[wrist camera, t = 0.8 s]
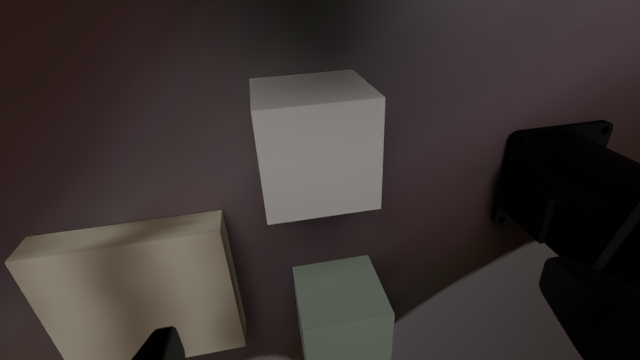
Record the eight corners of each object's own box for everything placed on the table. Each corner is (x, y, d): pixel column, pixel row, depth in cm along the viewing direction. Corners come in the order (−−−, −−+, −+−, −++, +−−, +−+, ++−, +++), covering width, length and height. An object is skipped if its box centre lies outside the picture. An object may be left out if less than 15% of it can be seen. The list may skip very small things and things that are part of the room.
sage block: (367, 254, 24) (394, 314, 20) (366, 307, 26) (390, 371, 22) (292, 266, 23) (302, 331, 19) (298, 319, 26) (309, 388, 22)
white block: (351, 69, 18) (385, 97, 14) (352, 160, 20) (381, 208, 16) (249, 78, 17) (250, 111, 13) (262, 171, 20) (267, 225, 16)
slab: (221, 210, 20) (220, 231, 19) (245, 320, 25) (246, 346, 23) (26, 236, 19) (4, 262, 17) (88, 348, 23) (75, 378, 22)
